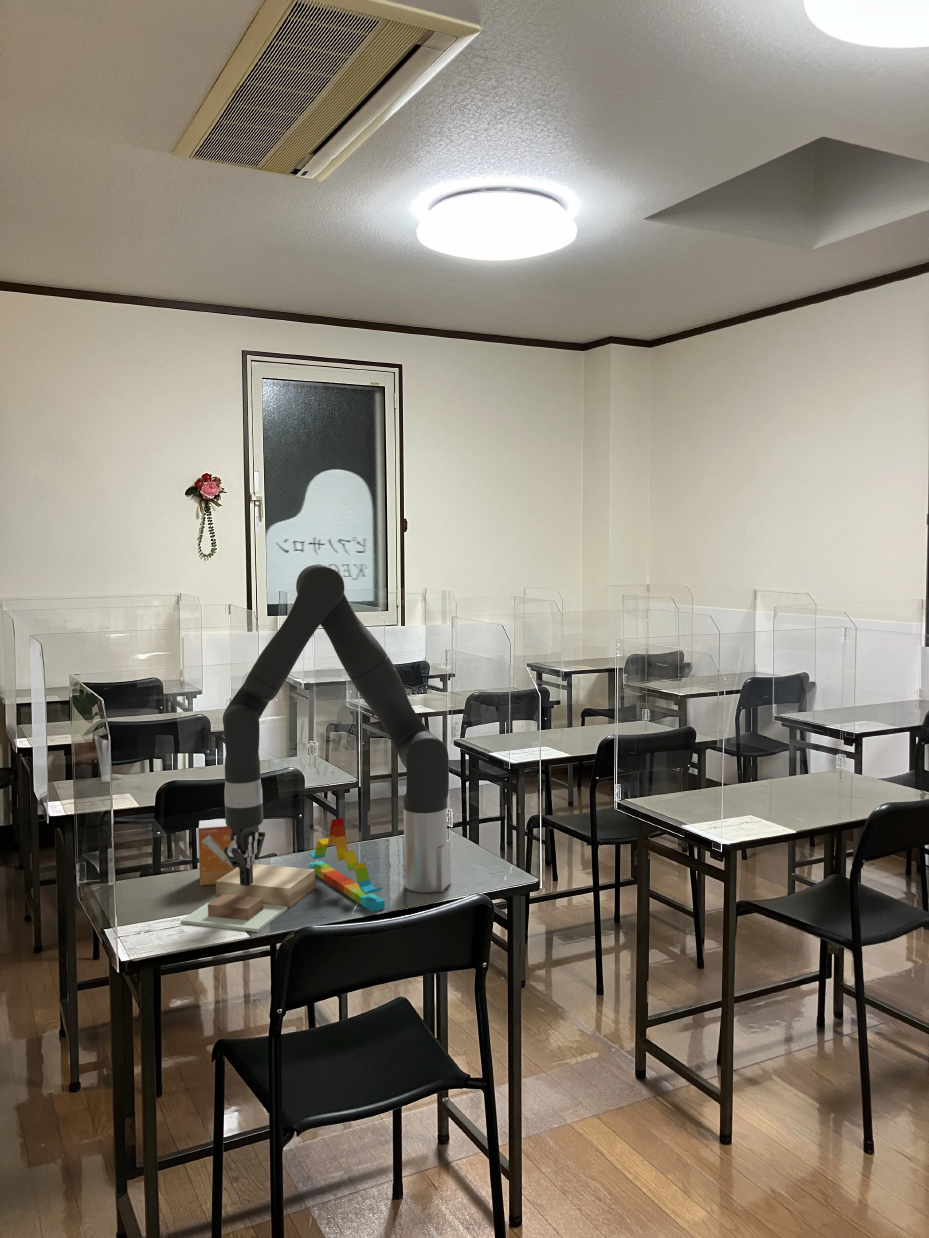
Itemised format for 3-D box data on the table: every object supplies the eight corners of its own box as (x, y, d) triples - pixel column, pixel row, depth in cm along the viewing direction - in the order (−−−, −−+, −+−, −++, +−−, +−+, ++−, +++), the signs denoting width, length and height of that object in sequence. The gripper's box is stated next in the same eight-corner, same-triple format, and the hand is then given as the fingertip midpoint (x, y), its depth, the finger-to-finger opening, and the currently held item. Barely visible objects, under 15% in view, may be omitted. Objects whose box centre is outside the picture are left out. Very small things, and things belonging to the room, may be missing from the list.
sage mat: (287, 909, 200) (287, 906, 200) (257, 931, 189) (257, 928, 189) (213, 901, 206) (213, 898, 205) (180, 923, 194) (180, 920, 194)
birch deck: (315, 887, 213) (314, 869, 212) (289, 907, 201) (288, 888, 201) (245, 880, 218) (244, 862, 218) (216, 899, 206) (215, 881, 206)
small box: (199, 886, 215) (197, 827, 214) (200, 876, 221) (198, 819, 220) (238, 882, 217) (235, 824, 216) (238, 873, 223) (235, 817, 222)
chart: (385, 909, 200) (384, 837, 199) (371, 912, 199) (369, 840, 197) (322, 868, 226) (320, 804, 225) (309, 871, 224) (307, 806, 223)
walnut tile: (248, 908, 193) (248, 920, 193) (263, 897, 199) (263, 909, 199) (207, 904, 196) (208, 916, 196) (223, 893, 201) (223, 905, 202)
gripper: (243, 811, 193) (246, 897, 194) (275, 794, 205) (278, 875, 207) (209, 808, 195) (213, 893, 196) (243, 792, 208) (246, 872, 209)
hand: (246, 884), depth 202 cm, fingers closed
